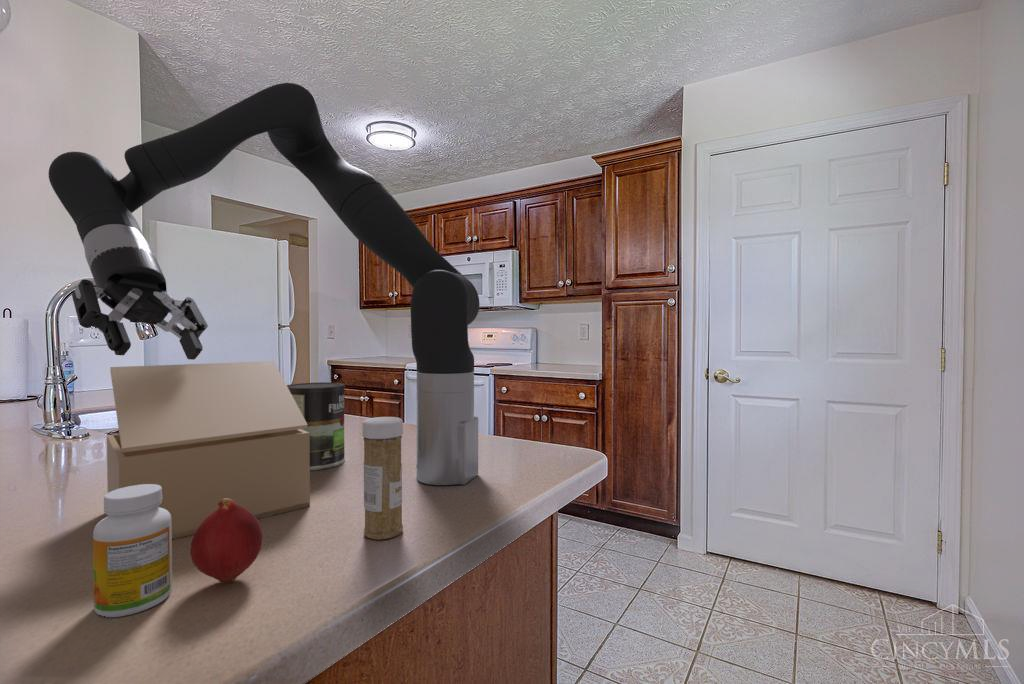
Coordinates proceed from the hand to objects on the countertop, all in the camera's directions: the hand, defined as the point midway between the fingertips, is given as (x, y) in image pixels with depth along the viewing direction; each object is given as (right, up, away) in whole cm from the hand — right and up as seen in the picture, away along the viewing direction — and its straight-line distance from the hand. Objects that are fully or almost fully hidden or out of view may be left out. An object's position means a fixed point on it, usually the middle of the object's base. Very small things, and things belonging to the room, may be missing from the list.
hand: (162, 353), depth 62 cm
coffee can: (+10, -20, +25) cm, 33 cm away
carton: (+5, -21, +2) cm, 21 cm away
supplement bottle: (+12, -21, -20) cm, 32 cm away
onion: (+18, -21, -17) cm, 33 cm away
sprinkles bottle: (+30, -21, -5) cm, 37 cm away
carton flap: (+6, -6, +1) cm, 8 cm away
